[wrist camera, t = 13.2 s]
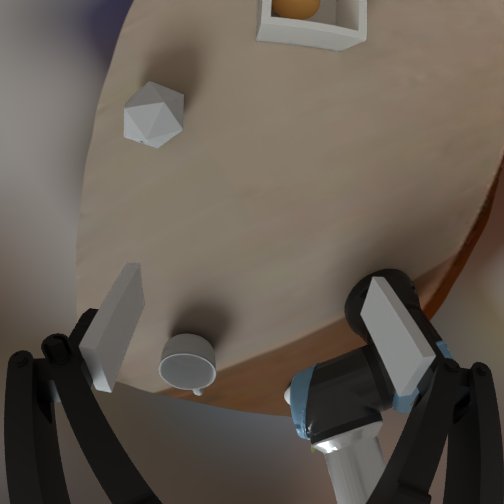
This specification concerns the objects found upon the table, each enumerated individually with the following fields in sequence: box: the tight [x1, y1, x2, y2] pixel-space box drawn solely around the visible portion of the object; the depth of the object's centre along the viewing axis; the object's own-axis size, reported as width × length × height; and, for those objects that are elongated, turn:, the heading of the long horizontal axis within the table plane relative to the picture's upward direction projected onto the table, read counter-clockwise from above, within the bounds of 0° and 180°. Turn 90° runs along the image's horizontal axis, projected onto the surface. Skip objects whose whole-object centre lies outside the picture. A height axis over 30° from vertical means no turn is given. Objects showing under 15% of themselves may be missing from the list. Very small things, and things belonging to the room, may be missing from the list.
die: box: [124, 81, 184, 148], centre depth 35 cm, size 8×9×10 cm
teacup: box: [159, 334, 216, 395], centre depth 56 cm, size 14×11×8 cm
